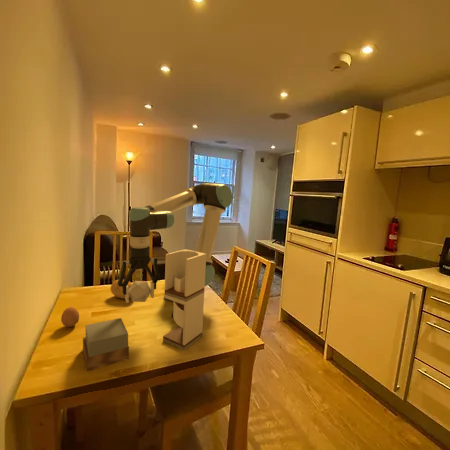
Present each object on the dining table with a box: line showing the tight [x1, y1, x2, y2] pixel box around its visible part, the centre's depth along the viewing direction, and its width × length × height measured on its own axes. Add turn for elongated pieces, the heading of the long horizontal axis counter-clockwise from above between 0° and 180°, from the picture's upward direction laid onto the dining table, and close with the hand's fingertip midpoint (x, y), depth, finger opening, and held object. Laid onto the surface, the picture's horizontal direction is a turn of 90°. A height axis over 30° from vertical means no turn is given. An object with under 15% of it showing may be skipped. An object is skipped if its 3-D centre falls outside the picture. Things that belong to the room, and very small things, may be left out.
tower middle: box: [84, 317, 129, 357], centre depth 92 cm, size 12×12×5 cm
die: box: [129, 280, 151, 303], centre depth 108 cm, size 8×9×10 cm
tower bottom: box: [82, 336, 130, 372], centre depth 93 cm, size 13×13×5 cm
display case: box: [162, 248, 206, 351], centre depth 103 cm, size 11×11×35 cm
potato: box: [110, 278, 133, 300], centre depth 139 cm, size 10×14×10 cm
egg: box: [60, 306, 80, 328], centre depth 109 cm, size 6×6×8 cm
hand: (139, 299), depth 108 cm, fingers closed on die, 9 cm apart
